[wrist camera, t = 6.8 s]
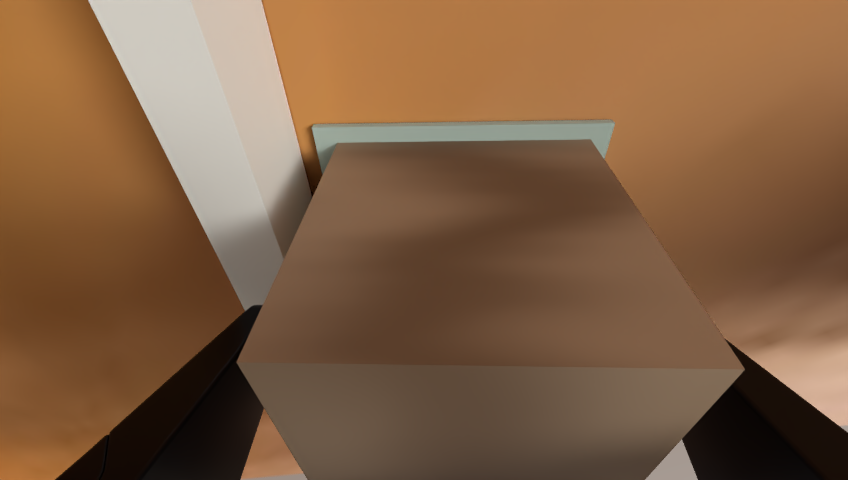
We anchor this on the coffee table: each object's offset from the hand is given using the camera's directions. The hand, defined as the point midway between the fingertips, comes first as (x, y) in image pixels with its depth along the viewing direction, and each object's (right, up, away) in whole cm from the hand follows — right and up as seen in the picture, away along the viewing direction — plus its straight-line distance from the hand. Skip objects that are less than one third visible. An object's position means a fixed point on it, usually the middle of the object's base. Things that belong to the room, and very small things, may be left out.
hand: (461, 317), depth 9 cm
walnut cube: (0, +2, +2) cm, 3 cm away
